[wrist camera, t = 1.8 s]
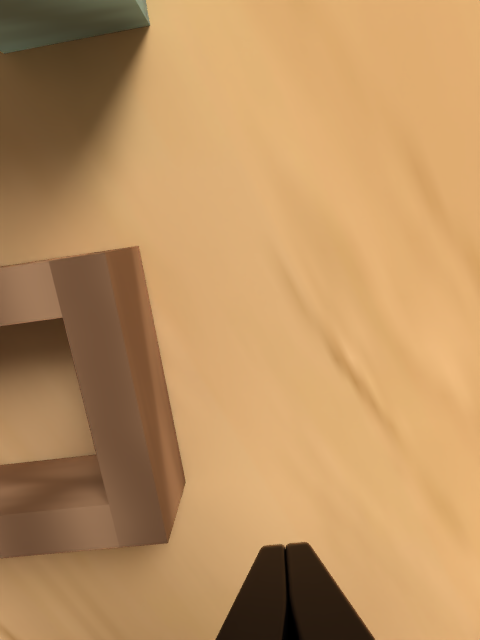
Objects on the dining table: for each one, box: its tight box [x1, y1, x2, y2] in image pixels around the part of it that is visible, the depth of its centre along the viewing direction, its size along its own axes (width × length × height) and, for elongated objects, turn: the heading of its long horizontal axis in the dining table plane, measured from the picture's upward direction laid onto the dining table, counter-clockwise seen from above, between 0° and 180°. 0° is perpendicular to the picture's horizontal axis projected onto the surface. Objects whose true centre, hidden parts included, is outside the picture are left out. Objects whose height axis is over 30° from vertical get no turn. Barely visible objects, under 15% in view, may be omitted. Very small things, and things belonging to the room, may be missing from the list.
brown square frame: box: [0, 246, 185, 558], centre depth 18 cm, size 12×12×4 cm
